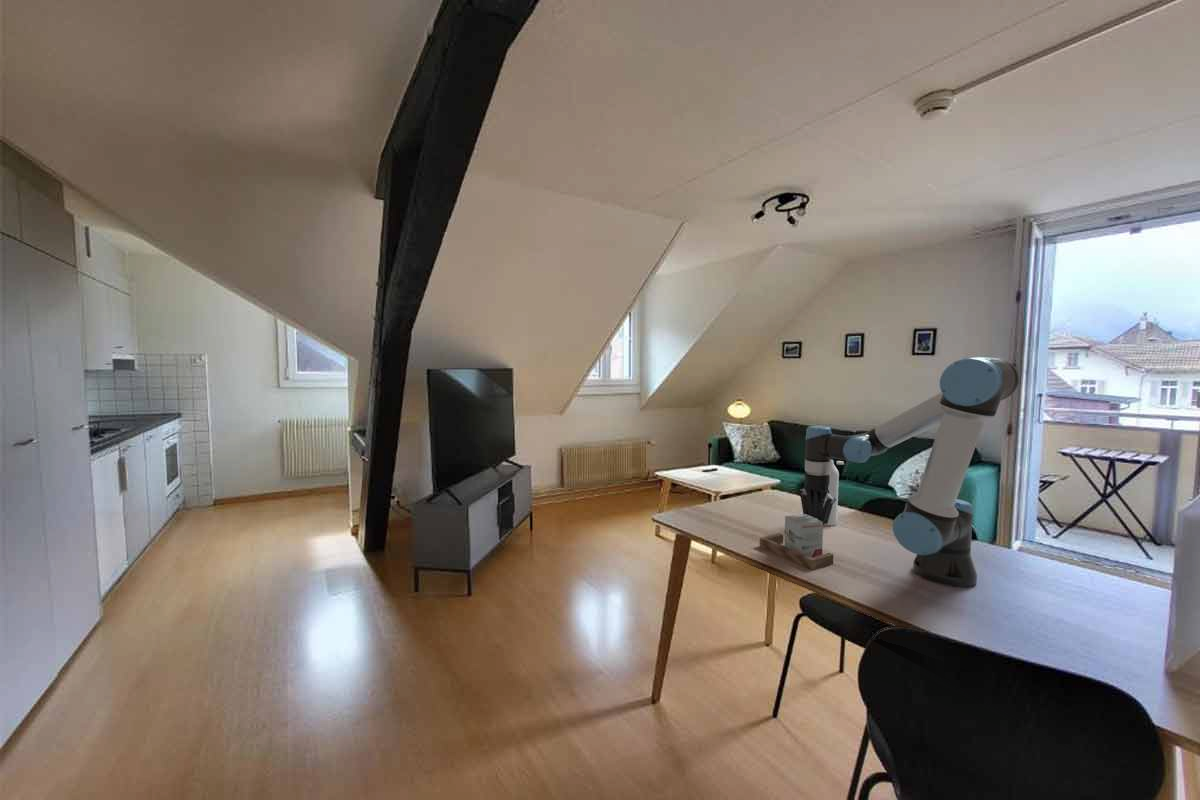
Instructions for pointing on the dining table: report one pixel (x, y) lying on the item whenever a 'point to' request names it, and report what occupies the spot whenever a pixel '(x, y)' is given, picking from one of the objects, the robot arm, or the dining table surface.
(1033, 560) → the dining table surface
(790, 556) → the fence
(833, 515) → the water bottle
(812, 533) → the ink box
